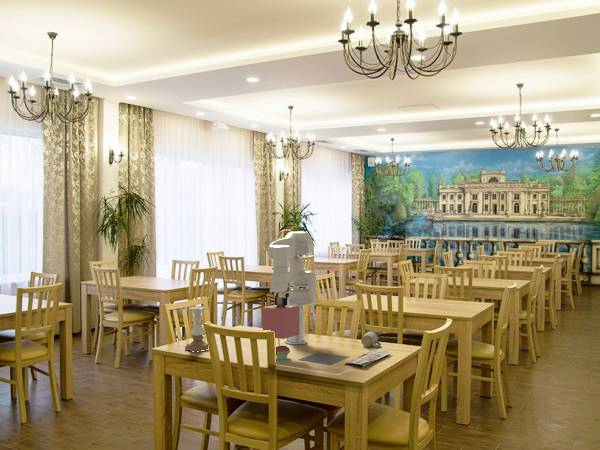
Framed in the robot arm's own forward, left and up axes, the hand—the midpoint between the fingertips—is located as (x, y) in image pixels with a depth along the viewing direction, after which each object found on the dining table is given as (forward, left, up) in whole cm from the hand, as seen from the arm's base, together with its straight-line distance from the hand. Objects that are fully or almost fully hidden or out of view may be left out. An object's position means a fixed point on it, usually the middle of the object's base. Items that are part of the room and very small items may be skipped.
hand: (281, 304), depth 305 cm
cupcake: (0, 0, -29) cm, 29 cm away
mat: (+19, +11, -28) cm, 36 cm away
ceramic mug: (+25, +53, -29) cm, 65 cm away
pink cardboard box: (0, 0, -16) cm, 16 cm away
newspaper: (+39, +22, -29) cm, 54 cm away
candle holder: (-53, -7, -29) cm, 61 cm away
